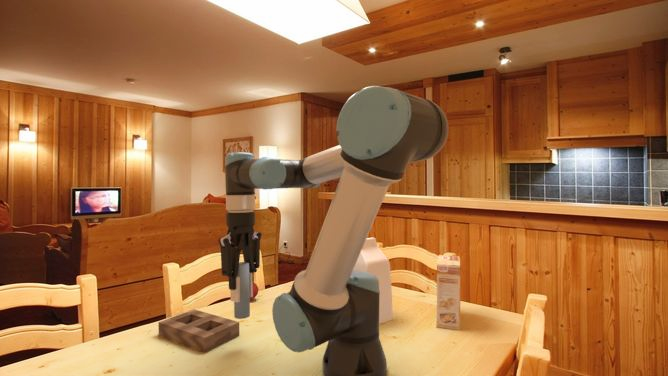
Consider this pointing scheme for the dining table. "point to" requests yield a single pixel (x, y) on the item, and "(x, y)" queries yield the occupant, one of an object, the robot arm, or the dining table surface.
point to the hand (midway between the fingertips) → (241, 298)
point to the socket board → (199, 330)
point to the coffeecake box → (448, 292)
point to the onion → (254, 291)
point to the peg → (243, 292)
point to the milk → (377, 275)
